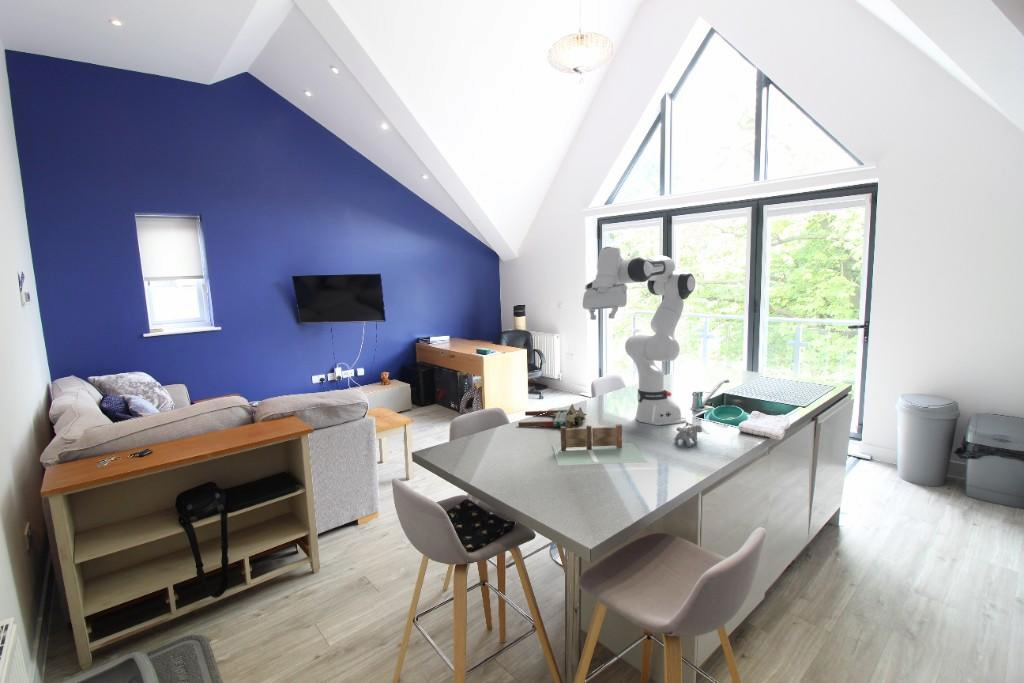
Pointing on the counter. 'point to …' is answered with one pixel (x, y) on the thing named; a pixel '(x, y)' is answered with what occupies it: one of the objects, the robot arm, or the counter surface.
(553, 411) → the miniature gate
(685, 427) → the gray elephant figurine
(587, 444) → the fence fixed
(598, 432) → the fence panel
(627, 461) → the card
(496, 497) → the counter surface
